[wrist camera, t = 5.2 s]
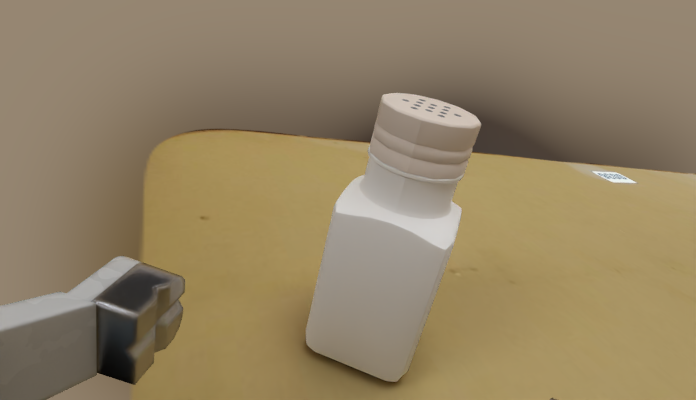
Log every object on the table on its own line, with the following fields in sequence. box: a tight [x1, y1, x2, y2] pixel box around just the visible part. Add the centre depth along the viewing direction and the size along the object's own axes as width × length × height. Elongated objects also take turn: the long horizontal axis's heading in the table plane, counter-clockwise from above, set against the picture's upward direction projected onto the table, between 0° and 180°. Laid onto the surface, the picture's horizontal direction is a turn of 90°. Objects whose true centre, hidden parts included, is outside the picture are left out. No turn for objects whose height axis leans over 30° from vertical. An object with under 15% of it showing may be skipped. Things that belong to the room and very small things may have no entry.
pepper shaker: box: [306, 93, 481, 382], centre depth 17 cm, size 4×4×10 cm
